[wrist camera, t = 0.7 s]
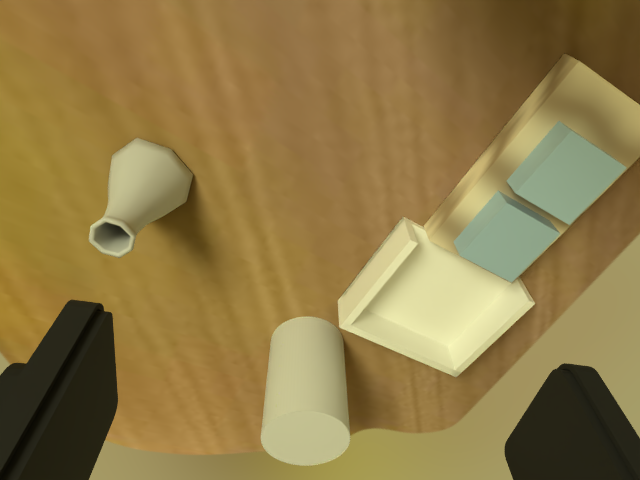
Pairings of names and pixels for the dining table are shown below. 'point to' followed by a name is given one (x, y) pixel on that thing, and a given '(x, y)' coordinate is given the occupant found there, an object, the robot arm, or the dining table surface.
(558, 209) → the tile
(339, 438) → the grey cylinder
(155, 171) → the flask
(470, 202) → the board
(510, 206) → the tile
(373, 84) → the dining table surface
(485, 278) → the tray
